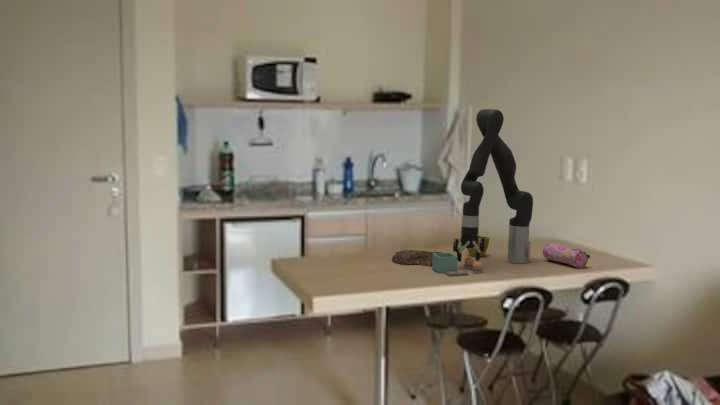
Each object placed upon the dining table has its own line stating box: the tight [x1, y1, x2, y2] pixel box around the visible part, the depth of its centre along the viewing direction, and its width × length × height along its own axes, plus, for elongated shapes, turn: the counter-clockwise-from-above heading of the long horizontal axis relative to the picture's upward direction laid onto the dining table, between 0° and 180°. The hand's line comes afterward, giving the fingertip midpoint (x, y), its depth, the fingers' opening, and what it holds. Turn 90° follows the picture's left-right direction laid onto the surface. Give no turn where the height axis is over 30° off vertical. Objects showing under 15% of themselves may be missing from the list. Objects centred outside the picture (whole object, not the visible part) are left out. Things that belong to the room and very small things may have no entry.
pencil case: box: [542, 241, 591, 270], centre depth 337 cm, size 21×9×9 cm, turn 32°
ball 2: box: [473, 261, 483, 270], centre depth 318 cm, size 4×4×4 cm
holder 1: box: [462, 263, 474, 270], centre depth 327 cm, size 4×4×1 cm
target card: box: [444, 270, 469, 277], centre depth 314 cm, size 9×5×1 cm, turn 106°
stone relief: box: [391, 249, 443, 268], centre depth 341 cm, size 26×4×30 cm
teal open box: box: [431, 252, 458, 274], centre depth 320 cm, size 8×8×7 cm
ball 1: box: [463, 256, 475, 266], centre depth 326 cm, size 4×4×4 cm
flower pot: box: [466, 235, 491, 258], centre depth 352 cm, size 9×9×9 cm
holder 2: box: [471, 269, 484, 274], centre depth 318 cm, size 4×4×1 cm
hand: (468, 261), depth 326 cm, fingers open, 8 cm apart
